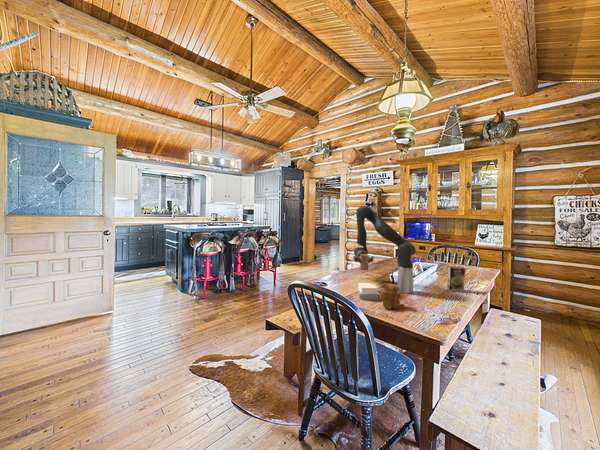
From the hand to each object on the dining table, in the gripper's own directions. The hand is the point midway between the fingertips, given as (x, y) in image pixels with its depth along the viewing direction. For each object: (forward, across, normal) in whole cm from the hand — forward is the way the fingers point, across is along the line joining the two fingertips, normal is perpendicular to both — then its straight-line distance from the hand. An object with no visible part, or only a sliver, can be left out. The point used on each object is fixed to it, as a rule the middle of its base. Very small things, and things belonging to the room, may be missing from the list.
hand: (364, 261), depth 169 cm
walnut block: (-3, 0, +6) cm, 7 cm away
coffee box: (-19, +64, +22) cm, 70 cm away
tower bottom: (+6, +2, +22) cm, 23 cm away
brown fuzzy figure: (+20, +14, +22) cm, 33 cm away
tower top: (+6, +2, +18) cm, 19 cm away
